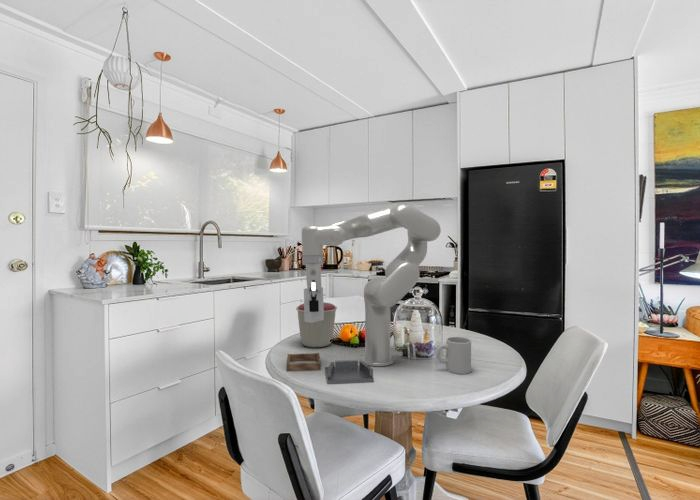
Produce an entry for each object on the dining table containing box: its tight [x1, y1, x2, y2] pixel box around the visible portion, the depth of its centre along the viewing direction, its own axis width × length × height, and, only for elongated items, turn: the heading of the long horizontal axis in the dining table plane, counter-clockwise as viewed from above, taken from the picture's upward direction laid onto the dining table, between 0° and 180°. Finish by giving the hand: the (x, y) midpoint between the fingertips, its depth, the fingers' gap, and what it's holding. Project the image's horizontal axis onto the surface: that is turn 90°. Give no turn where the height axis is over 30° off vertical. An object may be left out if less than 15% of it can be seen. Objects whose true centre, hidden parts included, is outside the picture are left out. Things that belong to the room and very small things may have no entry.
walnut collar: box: [286, 352, 322, 372], centre depth 141 cm, size 12×12×2 cm
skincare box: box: [303, 286, 324, 323], centre depth 138 cm, size 6×4×12 cm
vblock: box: [324, 359, 375, 385], centre depth 130 cm, size 15×13×4 cm
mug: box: [436, 336, 472, 375], centre depth 136 cm, size 12×8×11 cm
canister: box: [295, 301, 338, 348], centre depth 168 cm, size 18×18×21 cm
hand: (314, 309), depth 138 cm, fingers closed on skincare box, 7 cm apart
